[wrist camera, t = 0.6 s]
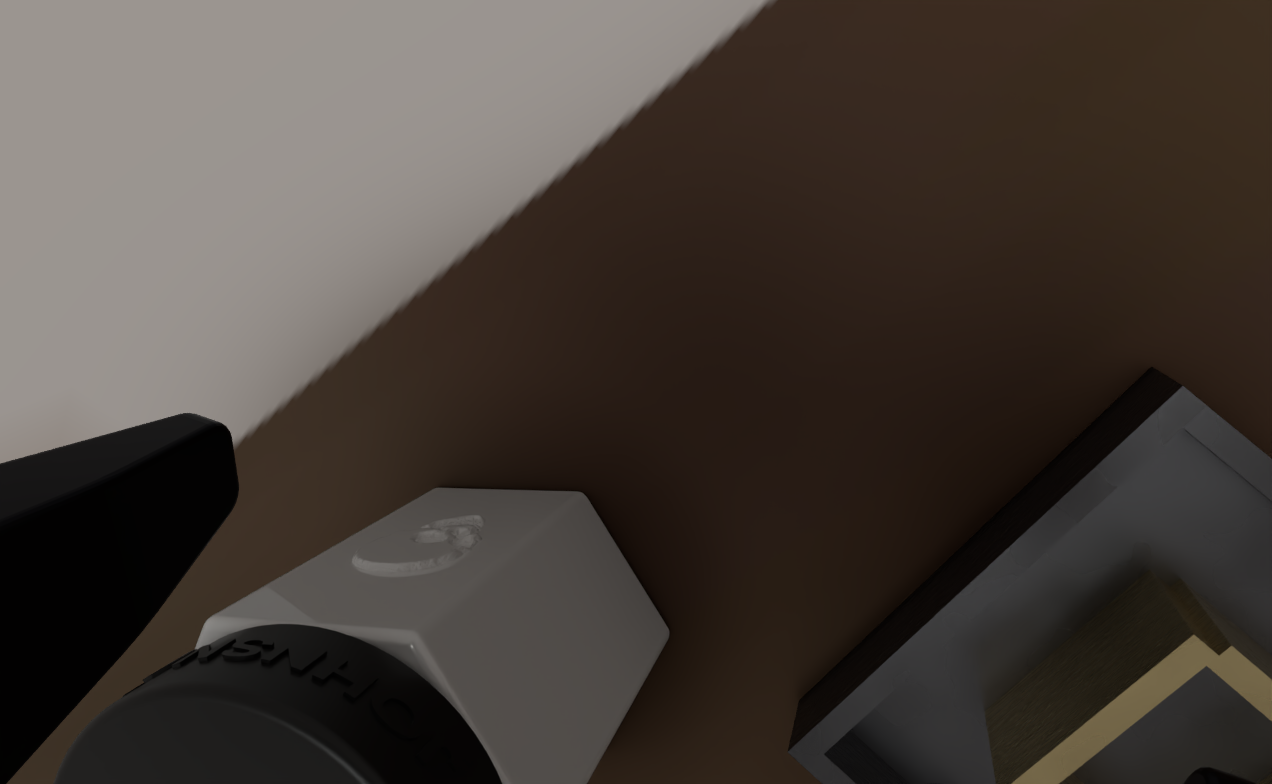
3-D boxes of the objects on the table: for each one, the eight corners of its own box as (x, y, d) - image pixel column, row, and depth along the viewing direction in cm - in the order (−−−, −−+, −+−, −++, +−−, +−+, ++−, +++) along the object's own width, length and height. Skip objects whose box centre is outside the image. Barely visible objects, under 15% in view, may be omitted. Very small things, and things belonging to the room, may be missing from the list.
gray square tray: (1159, 1027, 24) (1208, 1181, 20) (799, 700, 25) (779, 788, 21) (1600, 736, 20) (1764, 859, 16) (1151, 366, 21) (1206, 400, 17)
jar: (665, 483, 25) (460, 709, 13) (678, 765, 26) (503, 1187, 15) (367, 476, 27) (-18, 662, 16) (394, 733, 29) (59, 1074, 17)
